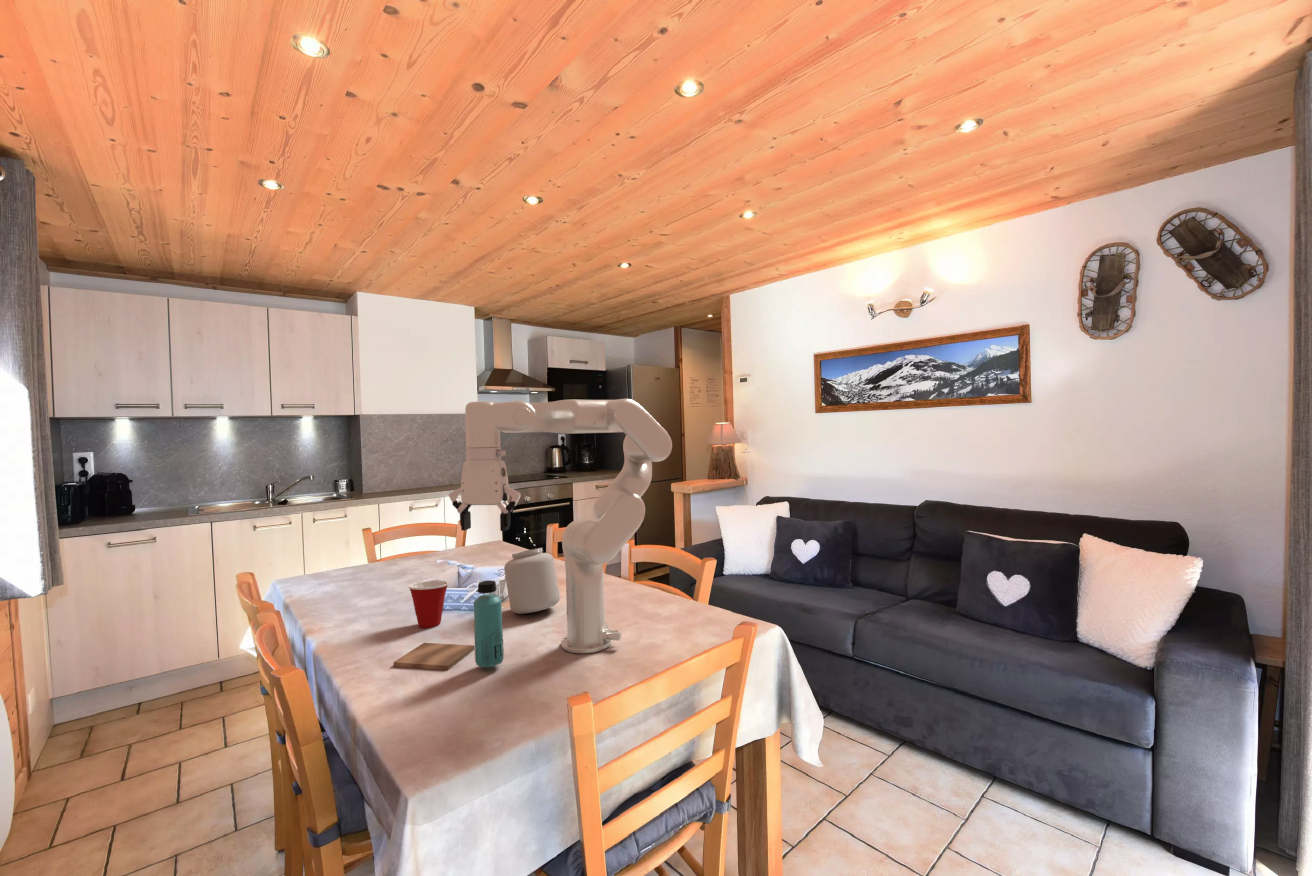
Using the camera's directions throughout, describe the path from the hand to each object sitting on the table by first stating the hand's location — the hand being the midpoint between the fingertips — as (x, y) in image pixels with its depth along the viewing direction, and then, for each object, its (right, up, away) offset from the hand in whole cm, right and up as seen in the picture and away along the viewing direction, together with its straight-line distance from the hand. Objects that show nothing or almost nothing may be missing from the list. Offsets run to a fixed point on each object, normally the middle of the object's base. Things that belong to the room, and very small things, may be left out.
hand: (485, 529), depth 128 cm
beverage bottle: (+1, -32, +1) cm, 32 cm away
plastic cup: (-25, -32, +30) cm, 51 cm away
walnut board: (-14, -32, +7) cm, 36 cm away
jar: (+1, -31, +41) cm, 52 cm away
